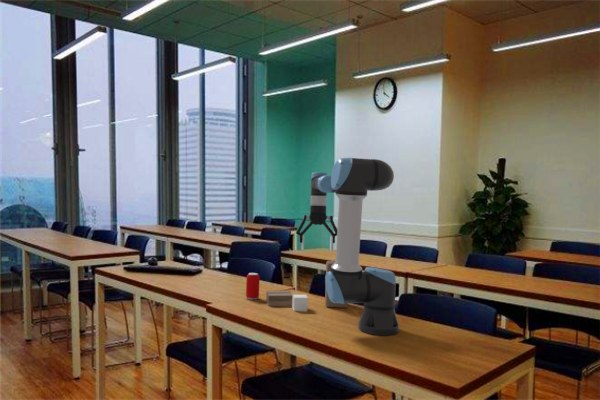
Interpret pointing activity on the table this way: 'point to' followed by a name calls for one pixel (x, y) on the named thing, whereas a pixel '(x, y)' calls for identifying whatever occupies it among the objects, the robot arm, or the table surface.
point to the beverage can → (252, 286)
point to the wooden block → (327, 300)
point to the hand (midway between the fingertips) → (316, 250)
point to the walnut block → (279, 298)
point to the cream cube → (300, 303)
